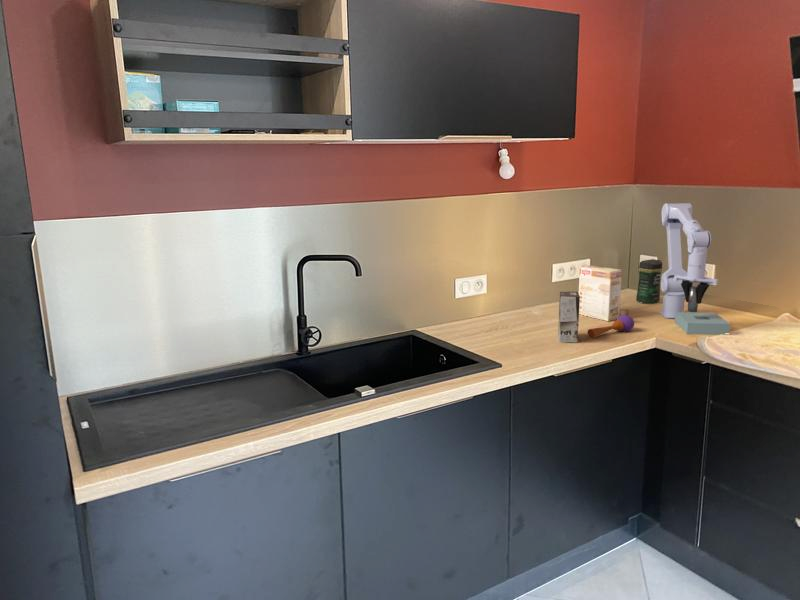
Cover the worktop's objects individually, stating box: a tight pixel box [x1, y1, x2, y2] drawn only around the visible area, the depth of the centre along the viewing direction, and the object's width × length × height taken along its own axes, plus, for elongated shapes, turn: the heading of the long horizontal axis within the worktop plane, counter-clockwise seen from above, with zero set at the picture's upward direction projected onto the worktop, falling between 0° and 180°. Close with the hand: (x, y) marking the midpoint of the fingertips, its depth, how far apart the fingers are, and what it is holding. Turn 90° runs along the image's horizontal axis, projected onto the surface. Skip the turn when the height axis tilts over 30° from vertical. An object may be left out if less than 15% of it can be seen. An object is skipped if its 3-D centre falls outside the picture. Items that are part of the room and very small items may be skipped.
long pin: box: [687, 285, 699, 313], centre depth 225 cm, size 3×3×9 cm
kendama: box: [587, 314, 635, 339], centre depth 224 cm, size 6×6×20 cm
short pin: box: [619, 308, 630, 317], centre depth 238 cm, size 3×3×5 cm
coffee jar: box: [635, 258, 663, 304], centre depth 269 cm, size 10×8×19 cm
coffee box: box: [557, 291, 580, 344], centre depth 217 cm, size 9×6×16 cm
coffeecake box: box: [578, 265, 623, 322], centre depth 246 cm, size 15×7×20 cm, turn 34°
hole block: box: [674, 311, 731, 336], centre depth 228 cm, size 16×14×4 cm
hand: (693, 302), depth 226 cm, fingers closed on long pin, 3 cm apart
